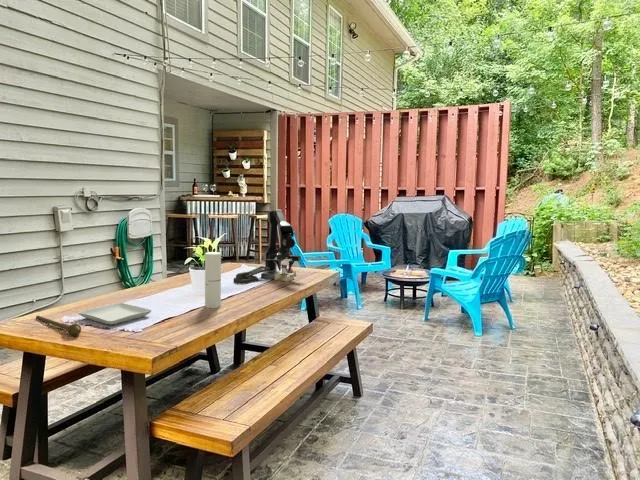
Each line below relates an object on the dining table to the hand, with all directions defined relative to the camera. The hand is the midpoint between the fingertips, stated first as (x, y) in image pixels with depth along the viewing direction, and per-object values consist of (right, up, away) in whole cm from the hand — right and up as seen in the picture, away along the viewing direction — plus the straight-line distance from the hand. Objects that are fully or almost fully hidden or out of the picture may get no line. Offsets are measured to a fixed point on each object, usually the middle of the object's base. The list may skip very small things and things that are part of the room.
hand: (284, 271), depth 294 cm
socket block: (-4, -4, +9) cm, 10 cm away
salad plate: (-64, -14, -89) cm, 111 cm away
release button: (+2, -3, +12) cm, 13 cm away
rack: (0, -5, +1) cm, 5 cm away
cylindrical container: (-29, -12, -66) cm, 73 cm away
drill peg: (0, -5, 0) cm, 5 cm away
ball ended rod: (-81, -16, -104) cm, 133 cm away
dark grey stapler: (-19, -5, -4) cm, 20 cm away
